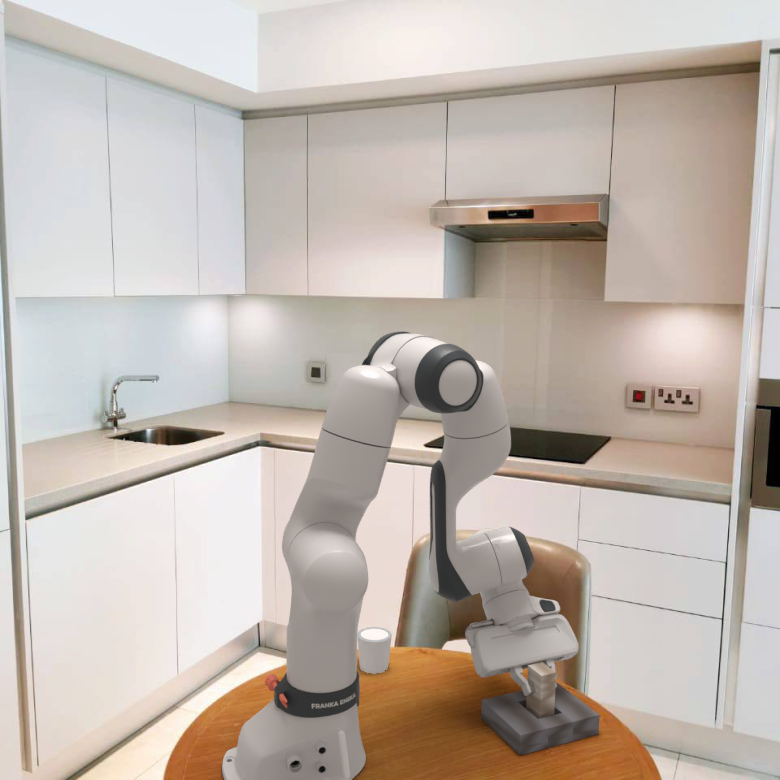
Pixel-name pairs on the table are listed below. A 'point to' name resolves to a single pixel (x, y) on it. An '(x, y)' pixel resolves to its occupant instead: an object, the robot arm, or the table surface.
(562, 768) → the table surface
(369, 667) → the white cup
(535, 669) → the peg
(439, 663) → the table surface
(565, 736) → the slot holder
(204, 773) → the table surface
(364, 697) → the table surface
